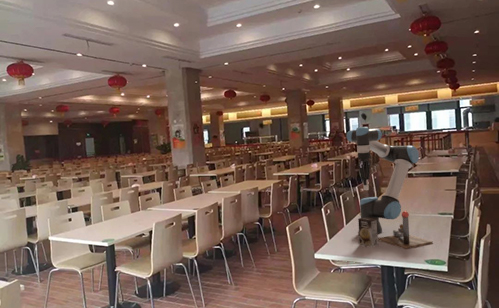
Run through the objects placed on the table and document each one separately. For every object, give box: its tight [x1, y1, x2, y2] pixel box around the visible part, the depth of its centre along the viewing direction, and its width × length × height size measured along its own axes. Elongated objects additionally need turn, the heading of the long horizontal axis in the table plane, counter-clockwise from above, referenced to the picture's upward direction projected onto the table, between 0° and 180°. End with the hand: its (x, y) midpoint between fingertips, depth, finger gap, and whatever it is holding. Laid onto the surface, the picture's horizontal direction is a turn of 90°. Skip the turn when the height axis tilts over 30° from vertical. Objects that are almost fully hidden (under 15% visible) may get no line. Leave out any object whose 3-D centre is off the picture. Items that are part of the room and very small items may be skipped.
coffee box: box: [357, 217, 379, 248], centre depth 249 cm, size 9×6×16 cm
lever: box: [392, 211, 410, 244], centre depth 250 cm, size 21×4×19 cm, turn 179°
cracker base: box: [377, 223, 433, 250], centre depth 251 cm, size 20×24×8 cm
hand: (366, 190), depth 256 cm, fingers closed
